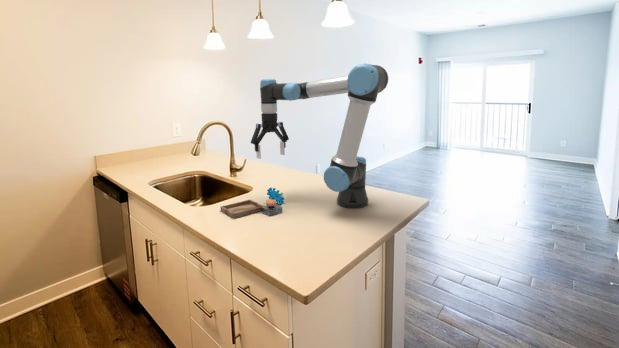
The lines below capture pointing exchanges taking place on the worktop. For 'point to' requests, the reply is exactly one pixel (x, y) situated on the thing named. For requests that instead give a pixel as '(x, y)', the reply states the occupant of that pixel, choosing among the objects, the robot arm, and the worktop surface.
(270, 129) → the robot arm
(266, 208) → the block
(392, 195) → the worktop surface
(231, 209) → the brown tray
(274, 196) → the gear
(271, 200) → the button
